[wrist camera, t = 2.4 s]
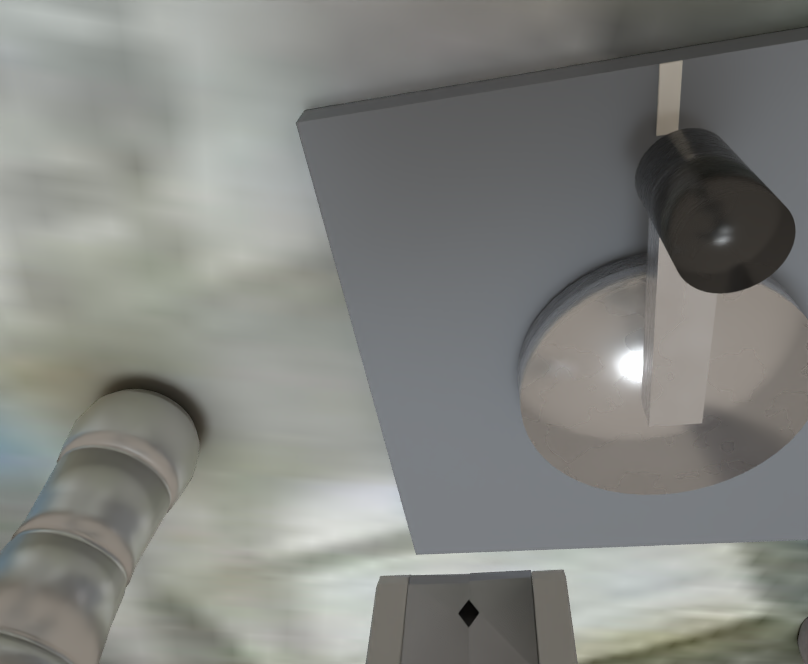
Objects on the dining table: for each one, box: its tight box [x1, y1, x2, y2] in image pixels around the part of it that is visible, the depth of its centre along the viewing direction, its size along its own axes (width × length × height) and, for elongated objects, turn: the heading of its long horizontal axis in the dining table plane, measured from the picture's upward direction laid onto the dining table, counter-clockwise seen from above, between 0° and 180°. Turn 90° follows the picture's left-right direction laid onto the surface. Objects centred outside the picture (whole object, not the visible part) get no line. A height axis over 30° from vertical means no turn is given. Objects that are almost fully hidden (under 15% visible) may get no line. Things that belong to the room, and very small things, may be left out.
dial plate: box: [296, 27, 808, 555], centre depth 29 cm, size 26×26×2 cm
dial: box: [518, 128, 808, 495], centre depth 24 cm, size 18×12×7 cm
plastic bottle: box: [0, 389, 200, 664], centre depth 27 cm, size 6×7×20 cm
